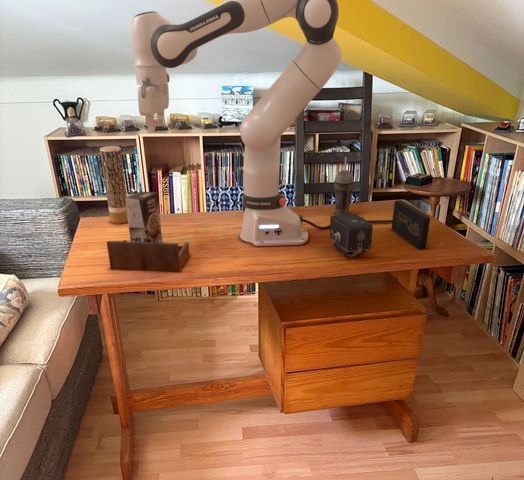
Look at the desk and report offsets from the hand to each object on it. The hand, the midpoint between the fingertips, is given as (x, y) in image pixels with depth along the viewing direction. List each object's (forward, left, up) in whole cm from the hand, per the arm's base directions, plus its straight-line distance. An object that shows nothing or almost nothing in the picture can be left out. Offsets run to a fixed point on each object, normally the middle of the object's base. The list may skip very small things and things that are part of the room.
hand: (156, 128), depth 163 cm
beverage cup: (-59, -29, -33) cm, 74 cm away
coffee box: (+3, +12, -33) cm, 36 cm away
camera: (-60, +12, -33) cm, 70 cm away
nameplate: (-80, -3, -33) cm, 86 cm away
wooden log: (+20, -12, -33) cm, 41 cm away
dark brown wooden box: (-2, +25, -33) cm, 42 cm away
